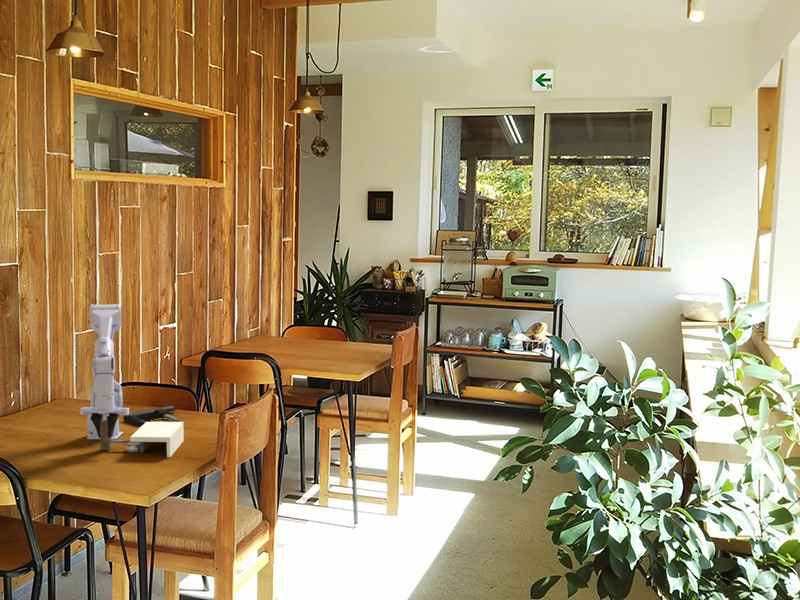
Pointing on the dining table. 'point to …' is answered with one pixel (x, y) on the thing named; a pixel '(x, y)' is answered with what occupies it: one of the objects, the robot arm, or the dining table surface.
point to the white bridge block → (161, 434)
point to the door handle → (150, 415)
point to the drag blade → (106, 441)
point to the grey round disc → (133, 447)
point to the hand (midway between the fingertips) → (105, 436)
